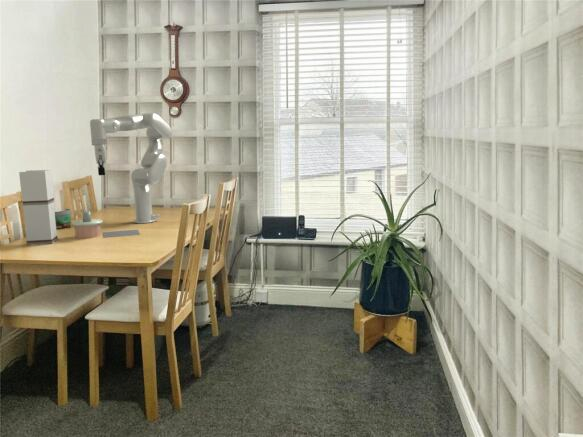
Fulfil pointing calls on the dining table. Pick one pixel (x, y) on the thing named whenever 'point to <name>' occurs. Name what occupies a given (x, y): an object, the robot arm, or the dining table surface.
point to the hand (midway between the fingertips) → (101, 174)
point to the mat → (120, 233)
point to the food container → (63, 219)
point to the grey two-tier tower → (38, 206)
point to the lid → (87, 220)
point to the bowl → (87, 231)
